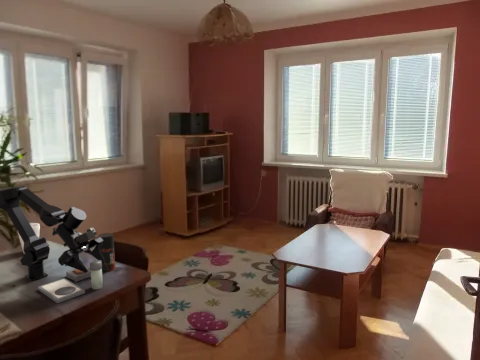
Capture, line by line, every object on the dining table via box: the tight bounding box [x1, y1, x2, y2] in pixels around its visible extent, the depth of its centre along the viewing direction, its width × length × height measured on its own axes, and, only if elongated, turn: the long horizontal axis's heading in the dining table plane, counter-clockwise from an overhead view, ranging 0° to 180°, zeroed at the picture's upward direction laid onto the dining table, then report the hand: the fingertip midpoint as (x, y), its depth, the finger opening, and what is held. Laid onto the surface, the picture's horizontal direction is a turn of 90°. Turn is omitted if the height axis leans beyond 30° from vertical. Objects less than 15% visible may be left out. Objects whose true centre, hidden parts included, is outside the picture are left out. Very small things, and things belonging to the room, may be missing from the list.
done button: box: [74, 264, 86, 275], centre depth 153 cm, size 4×4×2 cm
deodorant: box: [97, 232, 116, 273], centre depth 159 cm, size 6×6×15 cm
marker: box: [89, 259, 104, 291], centre depth 142 cm, size 4×4×10 cm
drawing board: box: [37, 277, 86, 304], centre depth 139 cm, size 16×10×1 cm, turn 50°
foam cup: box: [16, 222, 41, 255], centre depth 179 cm, size 10×9×13 cm
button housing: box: [65, 265, 91, 282], centre depth 153 cm, size 8×8×2 cm
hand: (95, 267), depth 141 cm, fingers open, 9 cm apart
